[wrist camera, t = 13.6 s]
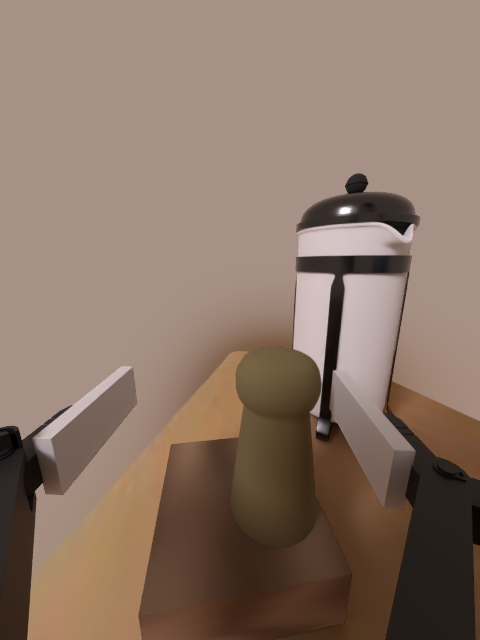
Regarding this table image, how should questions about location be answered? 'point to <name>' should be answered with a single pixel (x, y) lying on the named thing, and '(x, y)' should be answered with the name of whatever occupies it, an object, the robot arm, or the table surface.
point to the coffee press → (352, 289)
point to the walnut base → (232, 562)
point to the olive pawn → (275, 446)
